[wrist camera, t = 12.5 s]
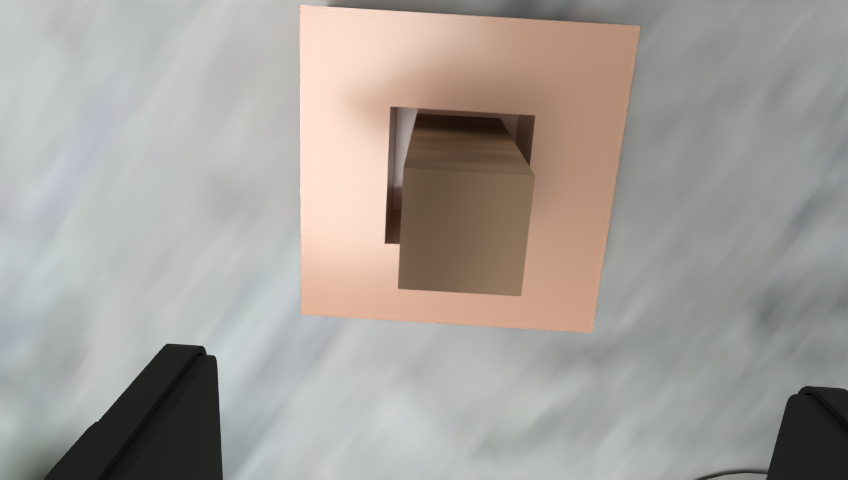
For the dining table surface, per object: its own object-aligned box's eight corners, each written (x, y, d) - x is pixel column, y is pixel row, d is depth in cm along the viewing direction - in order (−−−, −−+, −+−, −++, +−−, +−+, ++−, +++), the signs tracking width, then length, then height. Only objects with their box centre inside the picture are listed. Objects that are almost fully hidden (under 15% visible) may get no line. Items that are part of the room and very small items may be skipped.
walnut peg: (500, 118, 31) (534, 175, 20) (492, 198, 32) (521, 296, 21) (416, 113, 31) (403, 167, 20) (412, 193, 32) (397, 288, 21)
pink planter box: (603, 24, 30) (640, 25, 25) (567, 281, 34) (592, 332, 29) (325, 7, 30) (299, 4, 25) (324, 265, 34) (301, 314, 29)
